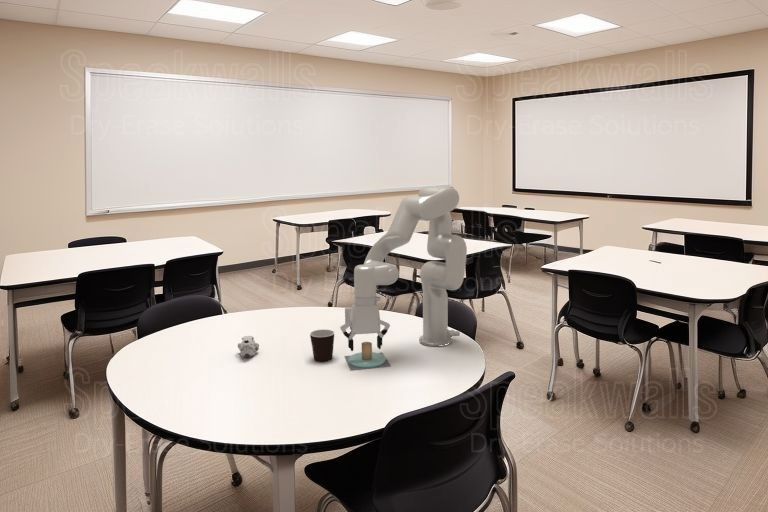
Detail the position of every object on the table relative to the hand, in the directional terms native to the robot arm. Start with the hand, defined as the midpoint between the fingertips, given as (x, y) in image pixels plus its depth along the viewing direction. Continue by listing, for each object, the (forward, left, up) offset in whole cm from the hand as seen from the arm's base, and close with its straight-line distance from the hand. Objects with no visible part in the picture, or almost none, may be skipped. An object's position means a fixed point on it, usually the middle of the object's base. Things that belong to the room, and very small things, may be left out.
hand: (365, 348), depth 182 cm
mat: (-1, 0, -5) cm, 5 cm away
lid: (-1, 0, -5) cm, 5 cm away
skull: (+40, -19, -6) cm, 45 cm away
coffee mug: (+13, -8, -6) cm, 17 cm away
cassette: (-6, -44, -6) cm, 45 cm away
